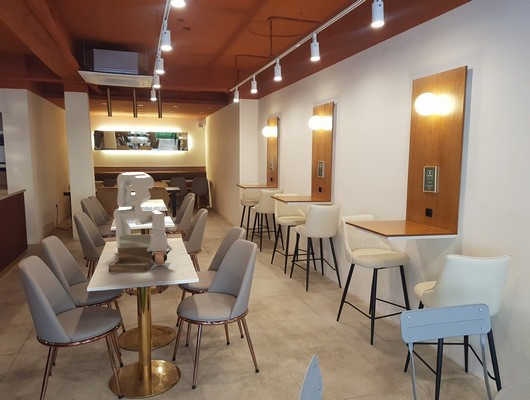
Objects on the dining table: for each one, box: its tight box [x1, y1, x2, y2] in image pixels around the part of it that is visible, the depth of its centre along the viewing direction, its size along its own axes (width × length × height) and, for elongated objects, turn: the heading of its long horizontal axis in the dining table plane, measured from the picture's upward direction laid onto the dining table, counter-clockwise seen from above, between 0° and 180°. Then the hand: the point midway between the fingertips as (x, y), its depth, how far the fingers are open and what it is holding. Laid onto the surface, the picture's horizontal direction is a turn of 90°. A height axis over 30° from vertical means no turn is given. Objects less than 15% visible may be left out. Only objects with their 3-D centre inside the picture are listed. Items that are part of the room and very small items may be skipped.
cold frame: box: [107, 234, 155, 273], centre depth 241 cm, size 19×22×18 cm
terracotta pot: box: [154, 251, 166, 265], centre depth 242 cm, size 7×7×8 cm
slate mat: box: [148, 262, 172, 271], centre depth 243 cm, size 14×10×1 cm
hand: (159, 260), depth 242 cm, fingers closed on terracotta pot, 5 cm apart
